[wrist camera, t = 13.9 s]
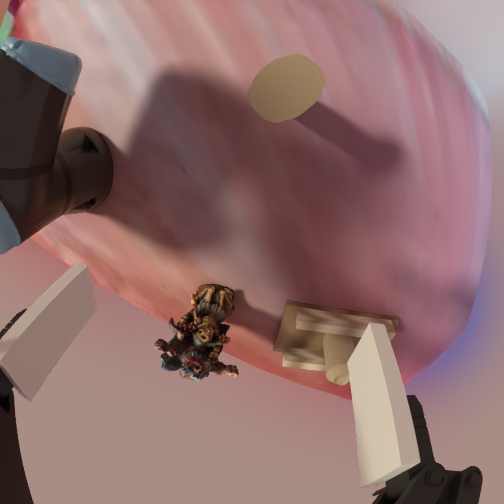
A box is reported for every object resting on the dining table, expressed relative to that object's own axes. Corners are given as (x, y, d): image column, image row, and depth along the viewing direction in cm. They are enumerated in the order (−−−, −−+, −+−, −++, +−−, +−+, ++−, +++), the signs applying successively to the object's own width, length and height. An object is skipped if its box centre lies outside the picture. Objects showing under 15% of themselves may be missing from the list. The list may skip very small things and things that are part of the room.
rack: (273, 346, 52) (271, 364, 48) (286, 300, 46) (286, 318, 42) (373, 358, 51) (377, 374, 47) (397, 317, 45) (404, 333, 41)
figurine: (243, 269, 44) (212, 357, 28) (255, 312, 48) (233, 398, 33) (184, 275, 47) (137, 351, 31) (200, 314, 51) (165, 390, 35)
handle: (317, 99, 31) (336, 85, 18) (281, 128, 33) (277, 134, 20) (291, 73, 29) (294, 43, 16) (256, 103, 32) (235, 93, 19)
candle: (349, 347, 48) (356, 388, 39) (321, 348, 49) (324, 390, 40) (353, 326, 46) (362, 369, 37) (324, 327, 46) (328, 371, 38)
